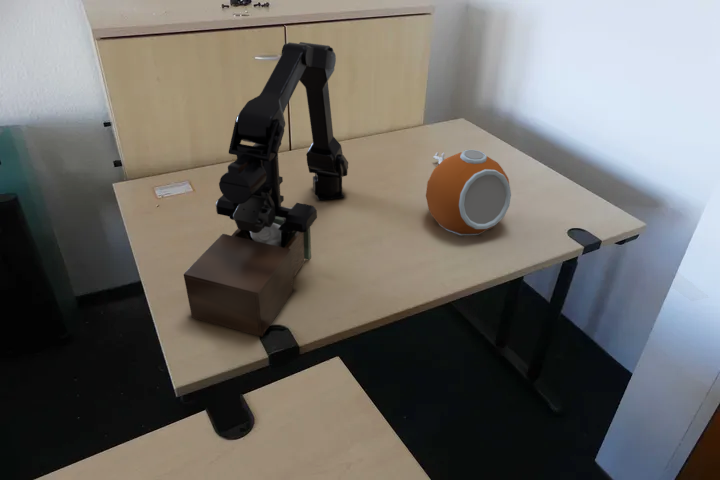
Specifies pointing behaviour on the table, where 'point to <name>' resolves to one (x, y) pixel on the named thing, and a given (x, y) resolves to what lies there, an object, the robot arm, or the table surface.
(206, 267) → the cabinet
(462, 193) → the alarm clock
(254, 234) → the white carved sculpture
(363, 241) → the table surface
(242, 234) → the drawer
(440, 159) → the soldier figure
